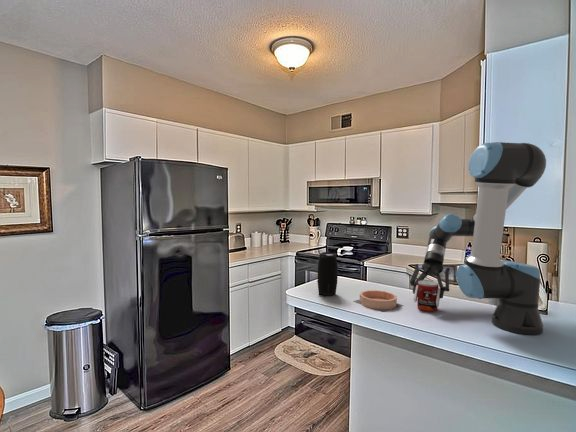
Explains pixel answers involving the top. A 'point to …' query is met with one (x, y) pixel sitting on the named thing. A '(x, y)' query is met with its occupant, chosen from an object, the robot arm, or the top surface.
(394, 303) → the bowl
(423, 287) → the canned food
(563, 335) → the top surface
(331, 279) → the portable speaker
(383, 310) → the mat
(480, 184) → the robot arm
